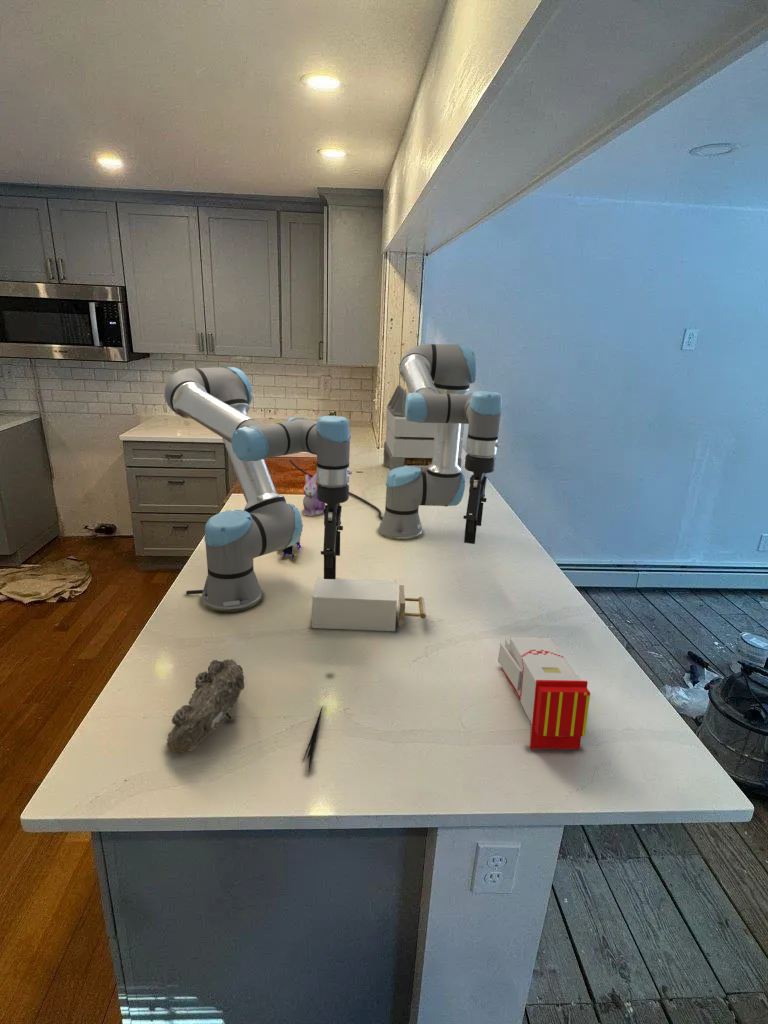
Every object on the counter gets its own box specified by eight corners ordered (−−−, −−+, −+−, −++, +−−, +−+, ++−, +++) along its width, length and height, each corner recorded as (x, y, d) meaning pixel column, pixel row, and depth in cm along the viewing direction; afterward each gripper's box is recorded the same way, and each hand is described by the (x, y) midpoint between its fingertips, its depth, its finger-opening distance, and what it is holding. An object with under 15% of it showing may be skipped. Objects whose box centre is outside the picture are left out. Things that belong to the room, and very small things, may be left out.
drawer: (422, 608, 149) (424, 586, 147) (425, 627, 140) (427, 604, 138) (330, 604, 149) (330, 582, 146) (326, 623, 140) (326, 600, 137)
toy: (546, 620, 128) (599, 688, 99) (541, 675, 131) (591, 756, 102) (493, 619, 128) (531, 687, 99) (489, 674, 131) (524, 755, 101)
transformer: (382, 463, 289) (386, 382, 275) (445, 464, 293) (451, 384, 279) (390, 482, 257) (394, 392, 243) (460, 483, 261) (468, 394, 247)
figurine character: (298, 566, 175) (304, 542, 188) (297, 544, 171) (303, 521, 185) (276, 565, 174) (283, 541, 188) (275, 544, 171) (282, 521, 184)
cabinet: (394, 609, 150) (396, 580, 147) (395, 631, 140) (396, 600, 137) (317, 606, 150) (317, 577, 147) (312, 627, 139) (312, 597, 136)
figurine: (306, 518, 210) (306, 479, 205) (297, 509, 219) (297, 471, 214) (330, 515, 214) (330, 476, 209) (320, 506, 223) (320, 469, 218)
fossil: (192, 660, 117) (244, 628, 112) (224, 691, 120) (276, 661, 115) (142, 746, 98) (202, 712, 93) (182, 779, 101) (242, 748, 96)
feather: (331, 679, 122) (336, 673, 122) (307, 777, 96) (313, 769, 95) (324, 675, 122) (329, 669, 121) (298, 772, 95) (304, 764, 95)
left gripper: (345, 501, 121) (344, 590, 128) (352, 470, 144) (350, 546, 151) (310, 499, 121) (310, 589, 128) (322, 468, 144) (322, 545, 151)
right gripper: (491, 468, 130) (481, 553, 137) (500, 446, 152) (491, 520, 159) (458, 464, 131) (451, 549, 138) (472, 443, 154) (465, 516, 161)
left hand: (332, 566), depth 139 cm, fingers open, 13 cm apart
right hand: (472, 533), depth 149 cm, fingers open, 13 cm apart
